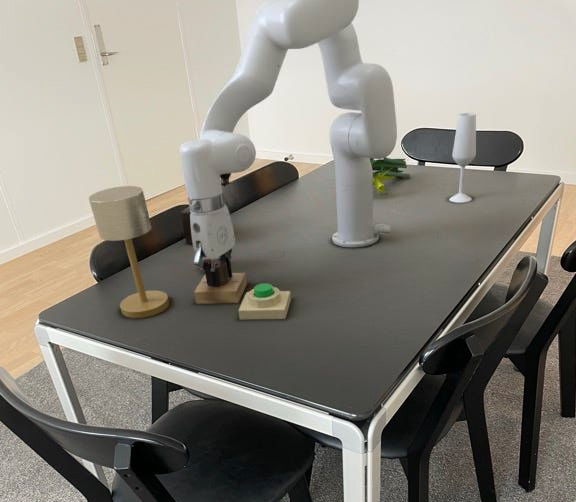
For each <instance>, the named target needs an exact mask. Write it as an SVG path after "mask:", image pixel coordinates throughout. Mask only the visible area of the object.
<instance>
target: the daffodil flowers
mask: <svg viewBox="0 0 576 502" xmlns="http://www.w3.org/2000/svg"><path fill="white" fill-rule="evenodd" d="M369 159H370V162H371V166H372V171H373V187H374V188H376V190H377V192H379V193H381V194H384V195H385V194H386V190H385V189H386V185H384V183H383V182H384V181H387V180H390V179H404V178H411V175H410V173H403V172H404V170H400V169H407V167H408V166H407V161H406V158H389V157H385V158H382V159H372V158H369Z"/></svg>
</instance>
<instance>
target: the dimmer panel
mask: <svg viewBox="0 0 576 502" xmlns="http://www.w3.org/2000/svg"><path fill="white" fill-rule="evenodd" d="M232 275H233V276H232V277H231V278H229V280H230V281H229V282H228V283H227V284H225V285H221V286H219V287H213V286H208V285H207V281H206V275H205V274H204V275H203V277H202V278H201V281H200V282H199V283H198V285H197V286H196V288H195V290H194V291H193V294H194V299H195V304H197V305H198V304H199V305H202V304H239V302H240V300H241V298H242V296H243V294H244V292H245V289H246V287H247V285H248V282H247V274H246V272H232Z"/></svg>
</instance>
